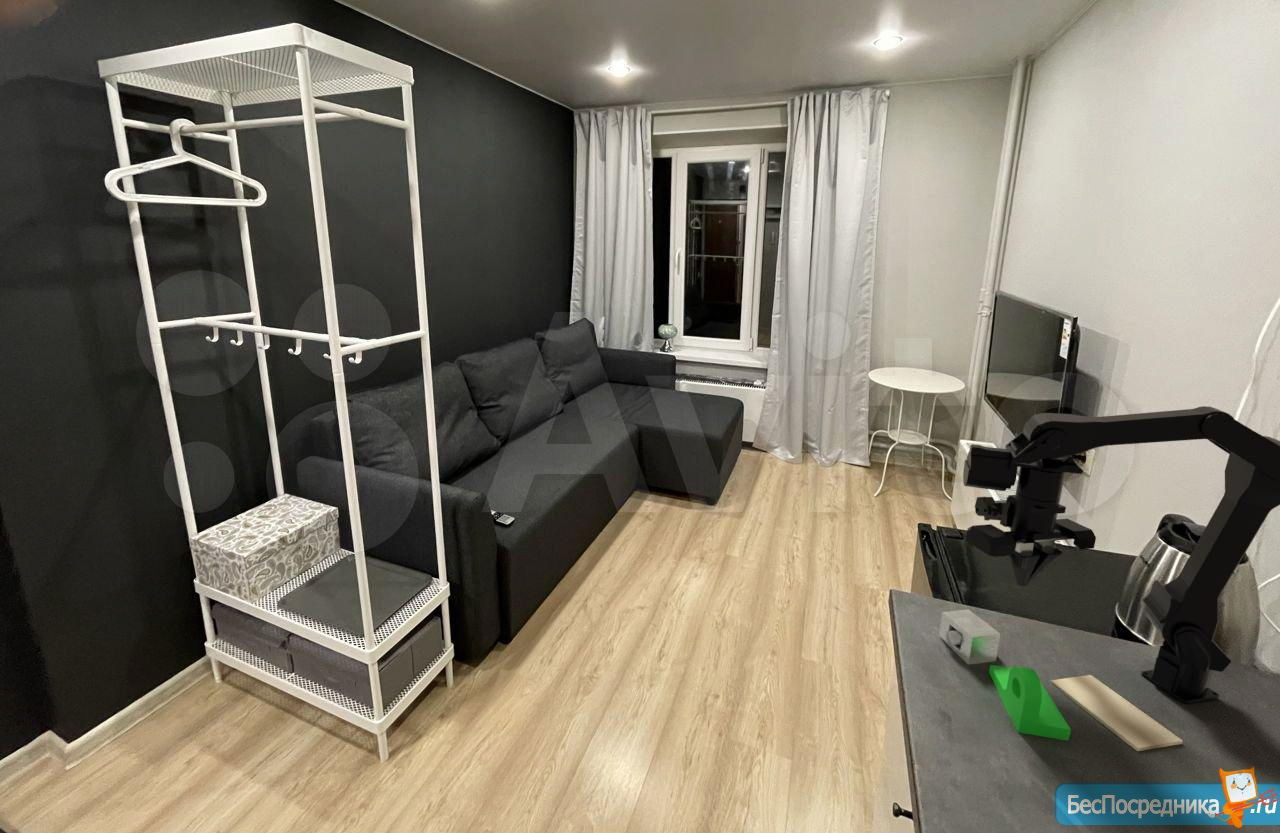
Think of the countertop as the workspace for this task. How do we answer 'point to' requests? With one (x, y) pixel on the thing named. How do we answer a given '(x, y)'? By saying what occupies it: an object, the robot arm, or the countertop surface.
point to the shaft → (956, 636)
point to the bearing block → (971, 636)
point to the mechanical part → (1029, 702)
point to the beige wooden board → (1116, 713)
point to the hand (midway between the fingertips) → (1021, 585)
